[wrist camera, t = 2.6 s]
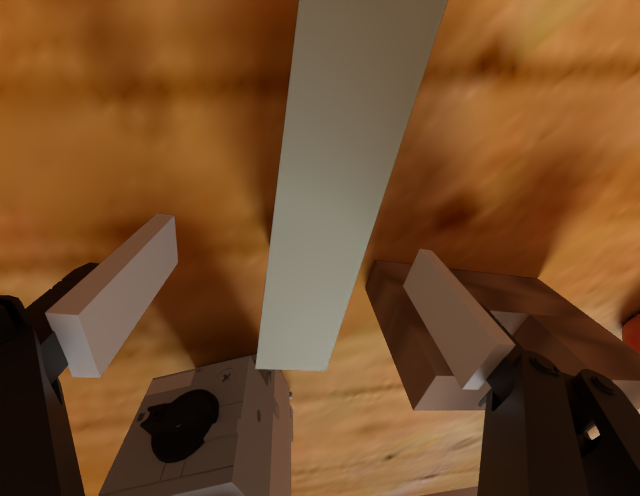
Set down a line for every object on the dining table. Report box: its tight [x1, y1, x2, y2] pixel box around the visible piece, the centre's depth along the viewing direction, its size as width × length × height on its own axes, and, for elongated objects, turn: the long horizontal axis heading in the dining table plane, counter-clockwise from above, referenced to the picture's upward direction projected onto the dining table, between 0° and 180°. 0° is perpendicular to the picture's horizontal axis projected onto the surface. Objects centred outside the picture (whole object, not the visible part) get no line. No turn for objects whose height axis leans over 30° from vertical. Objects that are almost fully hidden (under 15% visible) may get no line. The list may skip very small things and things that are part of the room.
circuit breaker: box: [98, 354, 293, 496], centre depth 19 cm, size 8×14×15 cm, turn 12°
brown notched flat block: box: [365, 260, 640, 411], centre depth 19 cm, size 16×3×10 cm, turn 79°
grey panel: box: [255, 0, 448, 371], centre depth 12 cm, size 14×3×10 cm, turn 169°
